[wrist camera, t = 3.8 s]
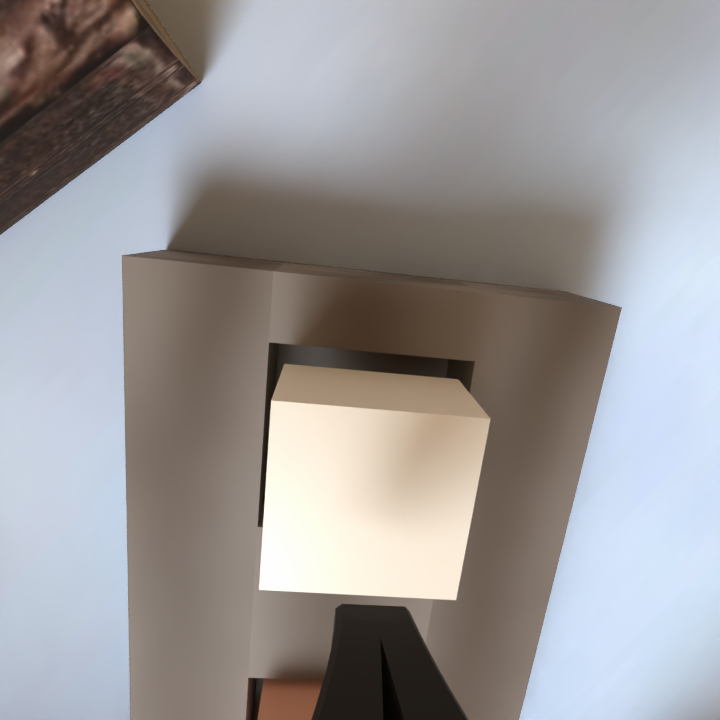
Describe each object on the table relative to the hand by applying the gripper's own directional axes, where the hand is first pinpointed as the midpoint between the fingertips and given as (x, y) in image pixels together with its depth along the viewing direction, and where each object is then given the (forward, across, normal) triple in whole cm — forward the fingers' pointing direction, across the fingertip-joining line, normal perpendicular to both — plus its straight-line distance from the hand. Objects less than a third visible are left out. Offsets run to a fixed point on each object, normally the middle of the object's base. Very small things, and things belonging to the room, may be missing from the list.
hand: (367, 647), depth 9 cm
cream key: (+6, 0, -1) cm, 6 cm away
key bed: (+10, 0, +5) cm, 11 cm away
